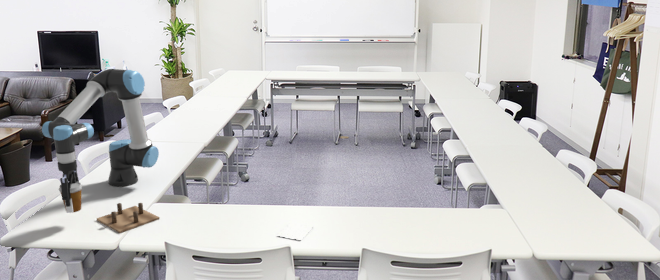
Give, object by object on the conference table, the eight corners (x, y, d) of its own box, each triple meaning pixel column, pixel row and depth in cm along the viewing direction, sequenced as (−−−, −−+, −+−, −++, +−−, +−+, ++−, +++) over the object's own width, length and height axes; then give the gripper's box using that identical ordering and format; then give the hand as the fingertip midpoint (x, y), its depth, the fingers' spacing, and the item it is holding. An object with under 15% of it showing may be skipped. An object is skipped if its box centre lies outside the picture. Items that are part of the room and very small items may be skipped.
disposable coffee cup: (77, 203, 253) (74, 179, 249) (89, 208, 248) (86, 184, 244) (57, 210, 246) (54, 185, 242) (69, 216, 240) (65, 191, 237)
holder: (135, 207, 268) (134, 196, 266) (159, 219, 256) (158, 207, 254) (96, 220, 253) (95, 208, 251) (120, 233, 241) (118, 220, 239)
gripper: (66, 152, 249) (72, 198, 256) (48, 169, 229) (56, 218, 236) (83, 152, 250) (89, 198, 257) (67, 169, 230) (74, 218, 237)
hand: (73, 208), depth 247 cm, fingers closed on disposable coffee cup, 8 cm apart
